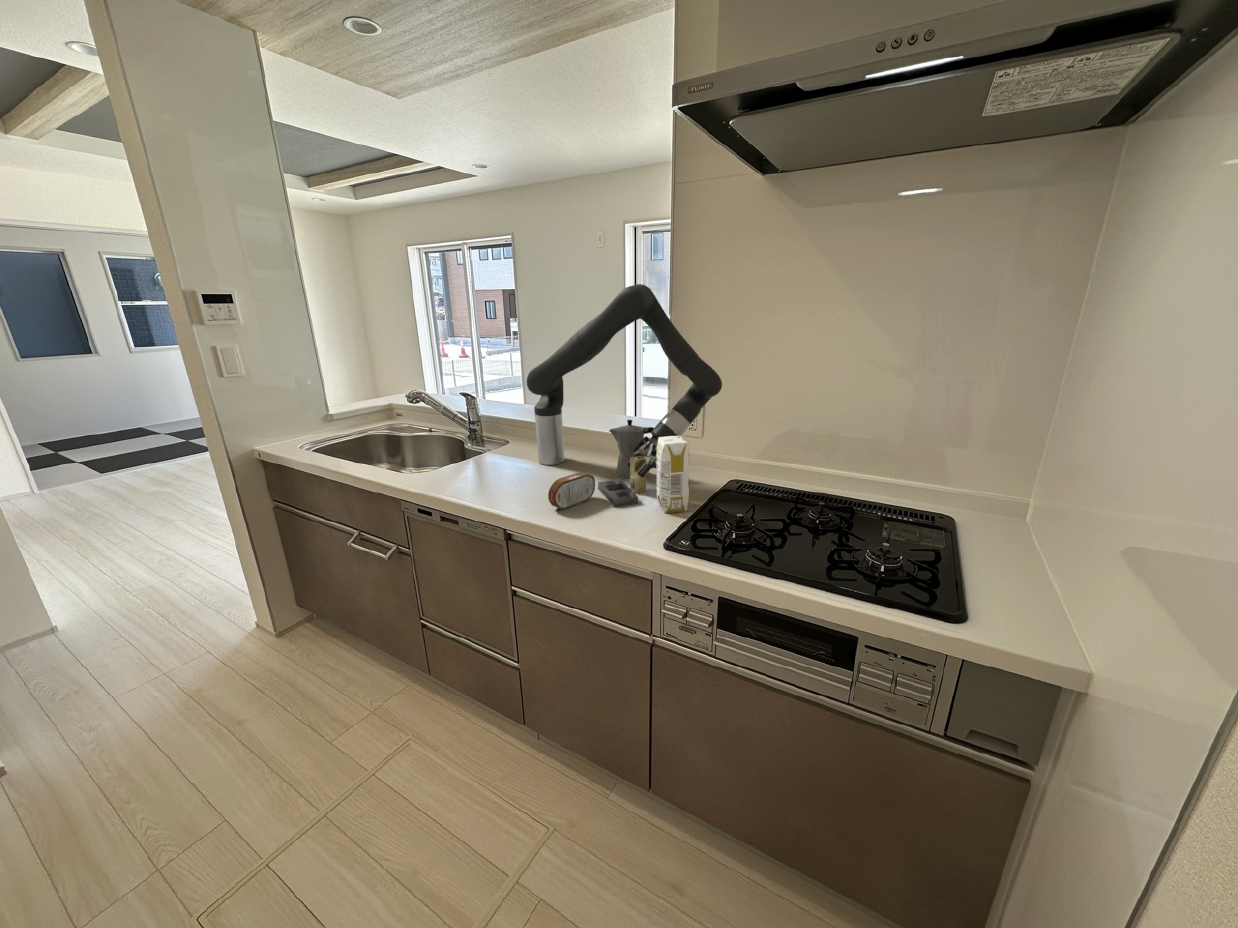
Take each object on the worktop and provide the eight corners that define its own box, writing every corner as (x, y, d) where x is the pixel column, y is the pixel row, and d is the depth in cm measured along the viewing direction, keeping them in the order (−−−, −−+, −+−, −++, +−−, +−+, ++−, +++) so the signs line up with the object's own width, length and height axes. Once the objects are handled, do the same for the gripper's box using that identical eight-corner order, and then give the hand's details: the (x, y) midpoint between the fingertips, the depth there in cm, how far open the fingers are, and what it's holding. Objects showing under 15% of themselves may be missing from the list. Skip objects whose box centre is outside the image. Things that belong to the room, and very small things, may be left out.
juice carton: (662, 515, 126) (662, 445, 120) (654, 502, 134) (654, 436, 128) (690, 512, 127) (692, 442, 121) (681, 500, 135) (682, 434, 129)
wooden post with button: (629, 489, 144) (628, 457, 141) (642, 487, 145) (642, 455, 142) (633, 493, 141) (633, 460, 137) (647, 491, 142) (647, 458, 139)
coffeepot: (608, 478, 153) (606, 423, 147) (612, 469, 162) (610, 416, 156) (657, 479, 151) (657, 423, 146) (658, 469, 160) (658, 416, 154)
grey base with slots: (598, 488, 145) (597, 482, 144) (620, 485, 147) (620, 479, 146) (614, 507, 132) (614, 500, 131) (638, 503, 134) (638, 496, 133)
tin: (590, 495, 140) (589, 467, 138) (597, 498, 138) (596, 470, 136) (548, 510, 130) (546, 481, 128) (555, 514, 128) (553, 484, 126)
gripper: (652, 415, 145) (617, 456, 145) (672, 426, 132) (634, 471, 132) (668, 431, 148) (634, 471, 149) (689, 442, 136) (652, 486, 136)
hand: (634, 471), depth 140 cm, fingers open, 8 cm apart
